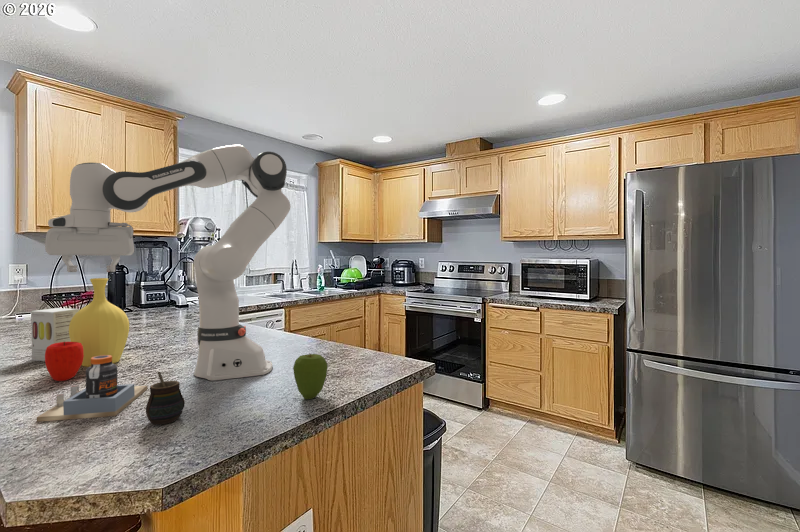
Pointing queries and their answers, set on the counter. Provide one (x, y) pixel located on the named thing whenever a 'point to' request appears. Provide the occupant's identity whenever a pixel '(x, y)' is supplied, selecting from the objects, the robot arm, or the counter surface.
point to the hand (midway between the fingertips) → (91, 272)
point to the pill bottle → (101, 377)
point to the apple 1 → (64, 360)
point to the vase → (100, 326)
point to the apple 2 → (310, 374)
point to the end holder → (98, 401)
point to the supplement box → (49, 329)
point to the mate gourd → (164, 402)
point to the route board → (58, 413)
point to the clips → (73, 391)
